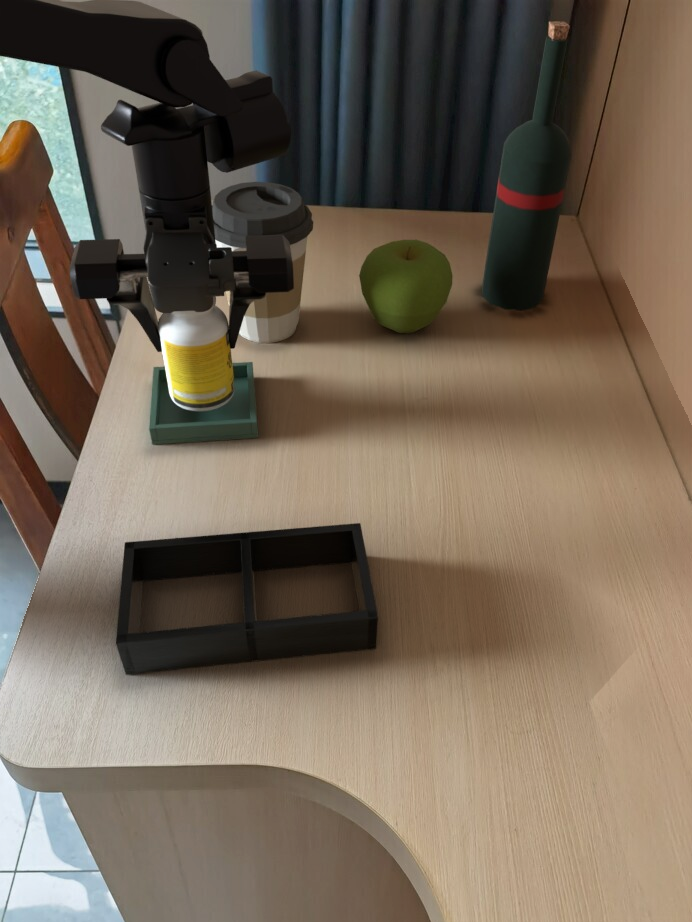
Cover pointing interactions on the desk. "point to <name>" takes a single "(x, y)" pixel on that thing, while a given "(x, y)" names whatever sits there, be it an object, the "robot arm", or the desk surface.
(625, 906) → the desk surface
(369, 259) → the apple
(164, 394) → the tray
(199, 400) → the pill bottle
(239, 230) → the coffee cup
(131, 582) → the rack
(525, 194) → the wine bottle
